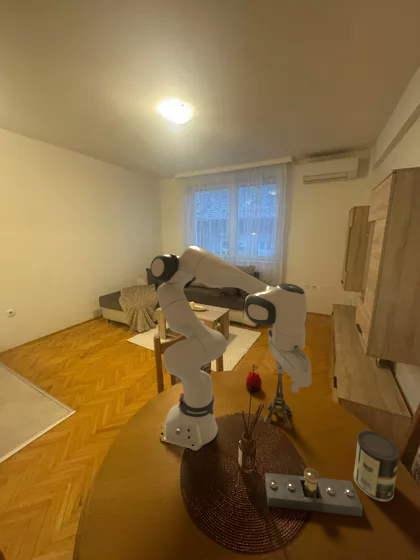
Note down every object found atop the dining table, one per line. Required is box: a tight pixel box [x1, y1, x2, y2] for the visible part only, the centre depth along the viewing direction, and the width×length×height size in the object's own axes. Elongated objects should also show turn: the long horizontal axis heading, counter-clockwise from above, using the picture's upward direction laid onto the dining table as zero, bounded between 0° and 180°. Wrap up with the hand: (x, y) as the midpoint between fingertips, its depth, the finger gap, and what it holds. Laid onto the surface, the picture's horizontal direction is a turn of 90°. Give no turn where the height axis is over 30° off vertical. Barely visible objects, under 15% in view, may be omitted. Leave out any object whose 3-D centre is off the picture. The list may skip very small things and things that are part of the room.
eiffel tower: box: [263, 371, 293, 430], centre depth 97 cm, size 11×11×25 cm
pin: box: [303, 467, 320, 498], centre depth 68 cm, size 4×4×8 cm
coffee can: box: [353, 429, 401, 502], centre depth 71 cm, size 10×10×14 cm
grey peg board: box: [264, 472, 364, 517], centre depth 69 cm, size 25×7×4 cm, turn 83°
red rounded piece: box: [245, 363, 262, 392], centre depth 116 cm, size 8×7×15 cm
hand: (286, 381), depth 72 cm, fingers open, 8 cm apart
